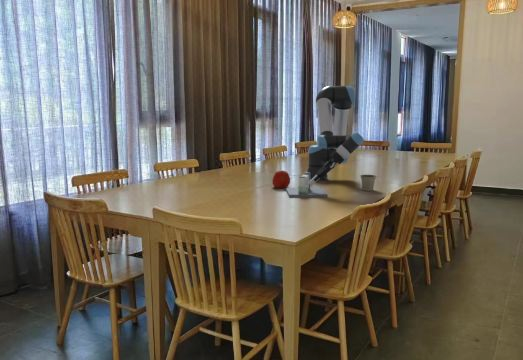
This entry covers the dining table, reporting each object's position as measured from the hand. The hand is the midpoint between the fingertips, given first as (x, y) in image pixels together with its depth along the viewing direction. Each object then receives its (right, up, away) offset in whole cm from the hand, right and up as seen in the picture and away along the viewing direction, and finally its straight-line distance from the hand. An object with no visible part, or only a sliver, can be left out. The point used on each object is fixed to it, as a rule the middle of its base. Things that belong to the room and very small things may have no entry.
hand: (309, 184), depth 254 cm
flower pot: (+36, -4, +14) cm, 39 cm away
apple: (-15, -2, +21) cm, 26 cm away
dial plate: (-2, -5, +3) cm, 6 cm away
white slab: (-3, -3, +4) cm, 5 cm away
